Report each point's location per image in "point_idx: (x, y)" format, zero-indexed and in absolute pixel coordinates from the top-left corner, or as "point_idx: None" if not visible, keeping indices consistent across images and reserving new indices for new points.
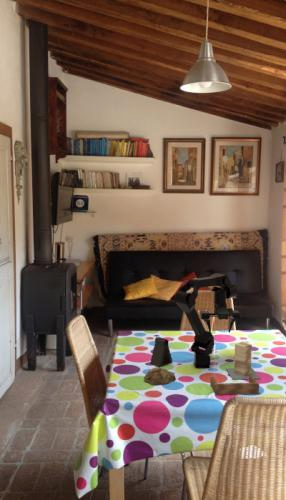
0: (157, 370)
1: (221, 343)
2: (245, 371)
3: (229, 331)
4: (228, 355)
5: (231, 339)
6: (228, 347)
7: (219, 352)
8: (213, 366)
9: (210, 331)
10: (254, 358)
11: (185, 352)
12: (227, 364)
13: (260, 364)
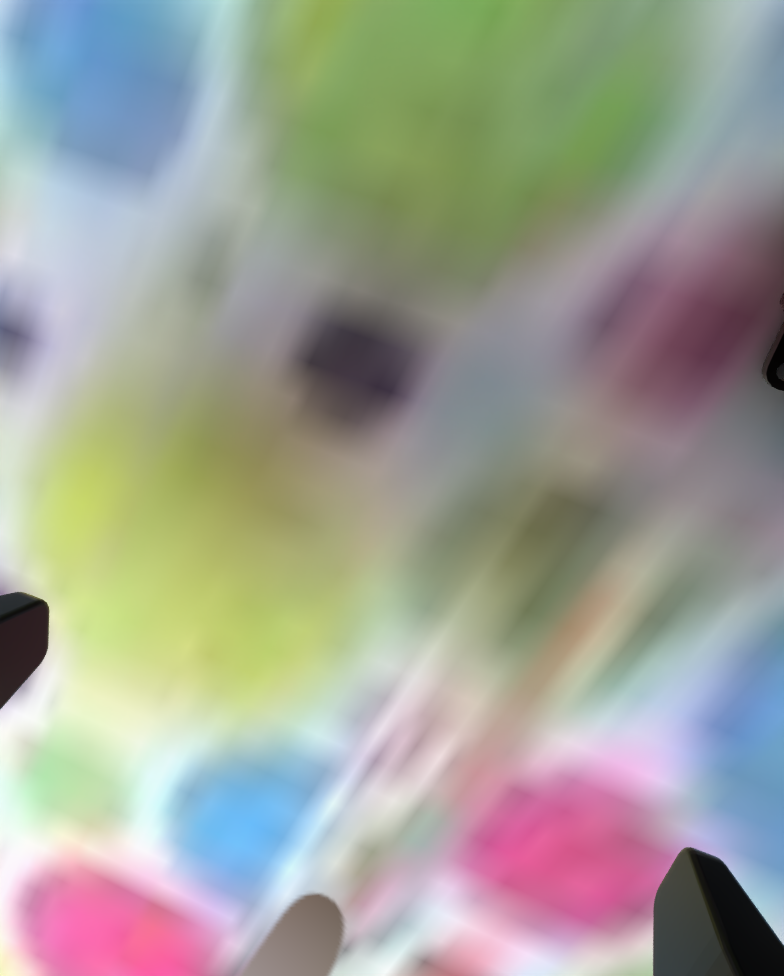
0: None
1: (193, 870)
2: None
3: (4, 607)
4: (278, 540)
5: (61, 899)
6: (170, 751)
7: (338, 671)
8: (748, 191)
9: (717, 899)
10: (14, 324)
11: (780, 862)
12: (462, 214)
13: (8, 70)
